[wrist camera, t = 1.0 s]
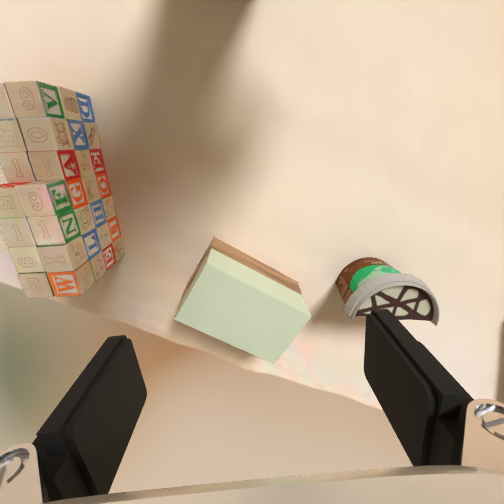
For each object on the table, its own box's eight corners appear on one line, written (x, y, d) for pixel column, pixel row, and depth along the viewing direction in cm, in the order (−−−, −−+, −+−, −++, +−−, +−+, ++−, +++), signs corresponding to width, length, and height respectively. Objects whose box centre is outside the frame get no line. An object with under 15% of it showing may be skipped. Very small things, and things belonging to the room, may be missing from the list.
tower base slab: (214, 236, 41) (210, 247, 37) (296, 280, 44) (302, 296, 40) (188, 282, 44) (181, 298, 39) (267, 320, 47) (269, 340, 43)
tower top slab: (211, 248, 37) (206, 263, 32) (303, 296, 40) (311, 316, 35) (182, 298, 39) (174, 319, 35) (271, 339, 43) (274, 364, 38)
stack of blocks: (39, 97, 34) (-65, 74, 22) (90, 95, 34) (12, 71, 22) (84, 256, 42) (24, 299, 30) (126, 255, 42) (81, 297, 30)
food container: (412, 253, 43) (458, 284, 33) (400, 288, 45) (440, 326, 36) (334, 247, 42) (360, 276, 33) (326, 282, 44) (348, 319, 35)
